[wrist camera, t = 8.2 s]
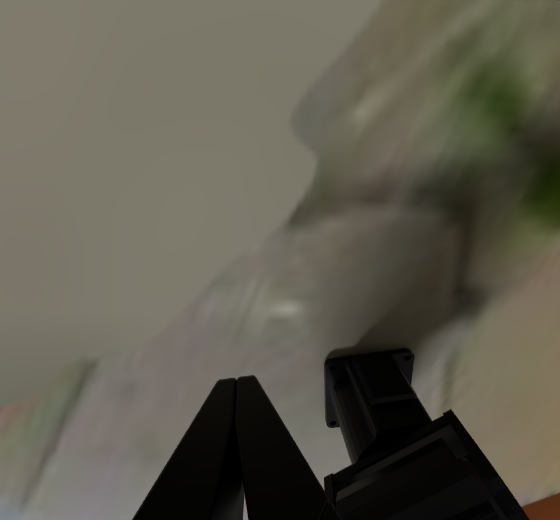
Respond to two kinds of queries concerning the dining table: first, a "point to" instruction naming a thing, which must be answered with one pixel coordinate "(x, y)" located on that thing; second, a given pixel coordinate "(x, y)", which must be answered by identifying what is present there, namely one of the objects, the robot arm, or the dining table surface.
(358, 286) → the dining table surface
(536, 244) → the dining table surface
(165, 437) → the dining table surface
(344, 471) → the robot arm
